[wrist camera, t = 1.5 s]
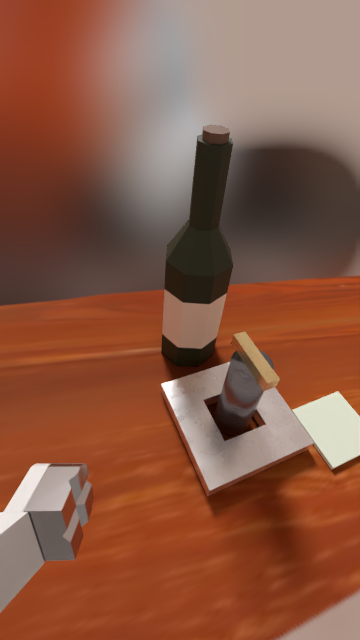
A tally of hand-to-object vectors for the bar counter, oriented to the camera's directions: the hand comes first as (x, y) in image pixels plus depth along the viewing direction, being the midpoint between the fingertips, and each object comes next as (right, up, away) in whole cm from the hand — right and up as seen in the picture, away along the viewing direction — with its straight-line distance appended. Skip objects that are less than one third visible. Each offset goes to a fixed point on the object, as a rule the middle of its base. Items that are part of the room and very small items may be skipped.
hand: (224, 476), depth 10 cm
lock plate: (+5, -8, +33) cm, 34 cm away
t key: (+5, -8, +33) cm, 34 cm away
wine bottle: (0, 0, +41) cm, 41 cm away
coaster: (+19, -10, +33) cm, 39 cm away
